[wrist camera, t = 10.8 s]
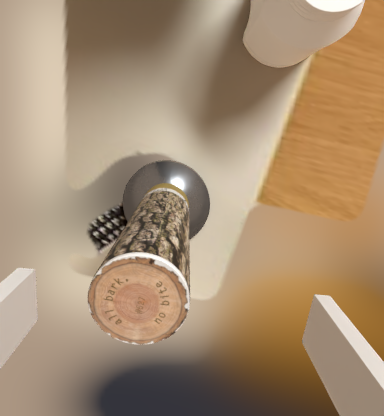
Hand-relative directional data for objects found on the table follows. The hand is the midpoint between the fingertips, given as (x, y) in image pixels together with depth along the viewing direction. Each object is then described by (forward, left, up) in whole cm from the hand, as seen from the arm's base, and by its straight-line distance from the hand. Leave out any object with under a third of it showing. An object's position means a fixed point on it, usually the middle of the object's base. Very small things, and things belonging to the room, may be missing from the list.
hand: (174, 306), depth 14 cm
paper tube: (+3, -2, -30) cm, 30 cm away
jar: (-23, +11, -31) cm, 40 cm away
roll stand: (+3, -2, -31) cm, 31 cm away
